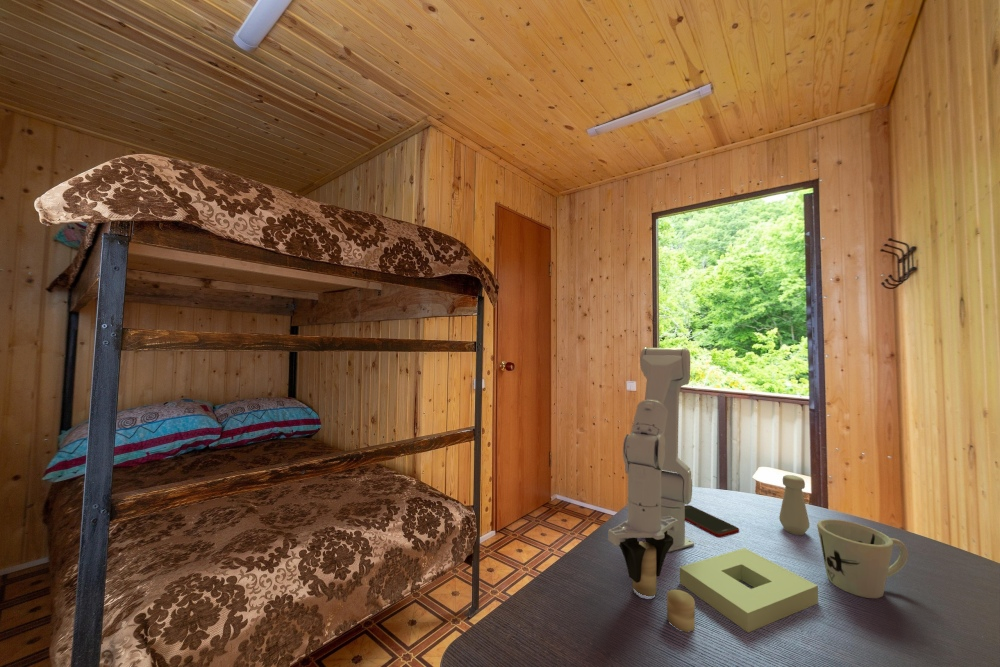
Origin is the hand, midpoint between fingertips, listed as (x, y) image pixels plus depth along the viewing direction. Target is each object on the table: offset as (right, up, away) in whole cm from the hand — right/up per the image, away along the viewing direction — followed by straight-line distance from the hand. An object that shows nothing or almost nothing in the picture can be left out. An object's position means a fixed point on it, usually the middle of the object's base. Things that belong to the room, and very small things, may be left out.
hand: (644, 576), depth 68 cm
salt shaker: (+45, -4, +23) cm, 50 cm away
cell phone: (+25, -4, +28) cm, 38 cm away
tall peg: (0, -3, 0) cm, 3 cm away
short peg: (+3, -3, -7) cm, 9 cm away
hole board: (+18, -3, 0) cm, 19 cm away
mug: (+42, -3, +2) cm, 42 cm away
